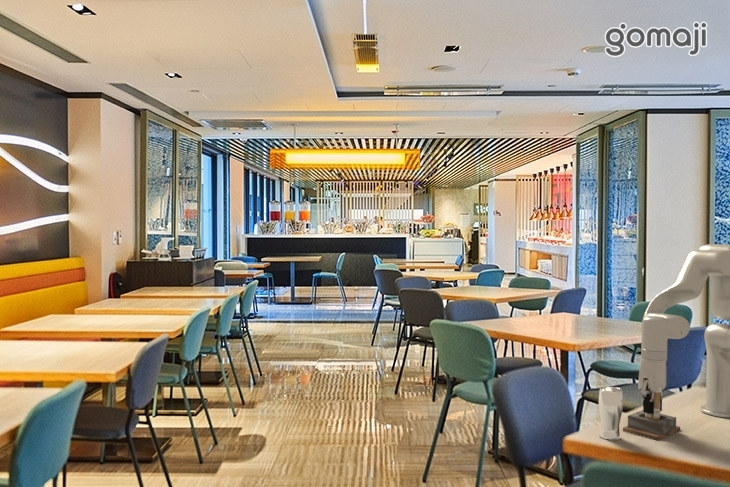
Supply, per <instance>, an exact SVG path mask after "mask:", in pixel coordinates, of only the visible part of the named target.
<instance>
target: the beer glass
mask: <svg viewBox="0 0 730 487" xmlns="http://www.w3.org/2000/svg"><path fill="white" fill-rule="evenodd" d="M623 395H624V394H623V389H622V388H620V387H615V386H610V385H609V386H604V385H603V386H600V387H599V393H598V410H599V418H600V430H599V434H598V435H599V437H600V438H601V437H602V438H601V439H603V438H604V440H606V439H609V440H608V441H619V440H620V439H621V432H620V423H621V417H622V414H623V408H624V405H623V404H624V397H623ZM618 439H619V440H618Z"/></svg>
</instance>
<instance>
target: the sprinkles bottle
mask: <svg viewBox="0 0 730 487" xmlns="http://www.w3.org/2000/svg"><path fill="white" fill-rule="evenodd" d="M647 391H650V389H647ZM660 393H661V387H659V389H658V391H656V392H654V397H653V402H654V414H648V413H645V416H646V417H645V418H647V419H651V420H655V421H659V420H660V414H661V411H660ZM647 394H649V395H650V394H651V393H647Z"/></svg>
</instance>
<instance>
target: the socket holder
mask: <svg viewBox="0 0 730 487" xmlns="http://www.w3.org/2000/svg"><path fill="white" fill-rule="evenodd" d="M645 417H646V416H645V413H644V412H643V409H641V410H639V411H636V412H632V413H631V414H629V415H627V426H624V427H622V432H625V431H626V432H625V433H629V432H630V433H629V434H632V433H634V434H633V435H636V434H637V435H636V436H640V435H641V436H640V437H643V436H645V437H644V438H647V437H649V438H648V439H651V438H653V439H652V440H654V439H656V440H655V441H659V440H661V439H663V438H665V436H666V437H667V435H668V436H670V435H672V434H675V433H677V432H679V431H680V430H681V426H680V425H679V426H678V425H677V417H676V416H672V415H668V414H663V413H660V420H659V421H655V420H651V419H647V418H645ZM674 432H675V433H674ZM660 438H661V439H660ZM658 439H659V440H658Z"/></svg>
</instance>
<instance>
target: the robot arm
mask: <svg viewBox="0 0 730 487" xmlns="http://www.w3.org/2000/svg"><path fill="white" fill-rule="evenodd" d="M709 277H710V280H711V281H710V282H711V290H710V292H711V293H710V294H711V295H710V313H711V315H712V316H713V317H714V318H715V319H718V320H723V321H730V244H724V243H710V244H709V243H707V244H703V245H701V246H700V247H699V248H698V249H695V250H692V251H690V252H689V253H688V254H686V258H685V259H684V261H683V263H682V266H681V267H680V270H679V271H678V274H677V276H676V278H675V280H674V282H673V284H672V285H670V286H669V287H667V288H665V289H664V290H663V291H661V292H659V293H658V294H657V295H655V297H653V298H652V300H650V302H649V304H648V305H647V308H646V310H645V312H644V314H643V318H642V320H641V344H640V345H641V350H640V351H641V352H640V353H641V354H640V365H639V370H638V382H637V383H638V384H637V386H638V387H637V388H638V390H639V391H640V394H641V396H642V400H643V401H642V402H643V403H642V404H643V406H642V407H643V408H642V410H643V412H644V413H648V414H654V402H653V397H654V392H656V391H658V389H659V387H661V393H660V412H662V410H663V397H664V394H663V393H664V391H665V390H664V389H665V388H666V387H667V364H666V363H667V361H668V340H669V339H672V340H680V339H683V338H685V337H687V336H688V334H689V333H690V329H691V325H690V322H689V321H688V320H687V319H686V318H685V317H684V316H681V315H676V314H671V313H669V314H668V313H665V312H666V310H668V309H670V308H671V307H673V306H675V305H679V304H681V303H685V302H689V301H692V300H695V299H697V298H698V297H699V296H700V295H701V293H702V291H703V288H704V286H705V284H706V282H707V280H708V278H709ZM704 343H705V351H706V370H705V371H706V373H705V374H706V378H705V404H702V405H701V406H700V408H699V409H700V411H701V412H703V413H704V414H706V415H710V416H714V417H720V418H728V419H730V323H729V324H728V323H722V322H720V323H718V322H717V323H716V322H715V323H712V324H709V325H707V326H706V328H705V331H704ZM647 389H650V391H647ZM647 393H651V394H650V395H649V394H647Z"/></svg>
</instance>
